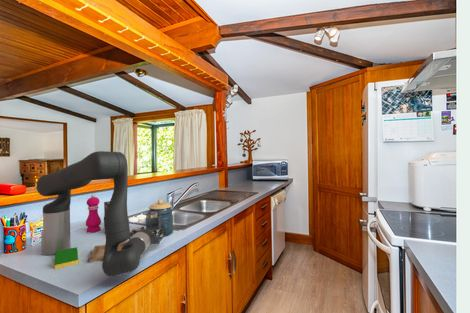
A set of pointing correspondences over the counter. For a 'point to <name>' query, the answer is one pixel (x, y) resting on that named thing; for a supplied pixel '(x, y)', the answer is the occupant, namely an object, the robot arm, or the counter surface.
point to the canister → (163, 215)
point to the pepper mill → (93, 215)
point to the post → (153, 214)
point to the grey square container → (154, 226)
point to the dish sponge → (66, 258)
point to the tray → (101, 252)
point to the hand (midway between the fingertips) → (152, 228)
